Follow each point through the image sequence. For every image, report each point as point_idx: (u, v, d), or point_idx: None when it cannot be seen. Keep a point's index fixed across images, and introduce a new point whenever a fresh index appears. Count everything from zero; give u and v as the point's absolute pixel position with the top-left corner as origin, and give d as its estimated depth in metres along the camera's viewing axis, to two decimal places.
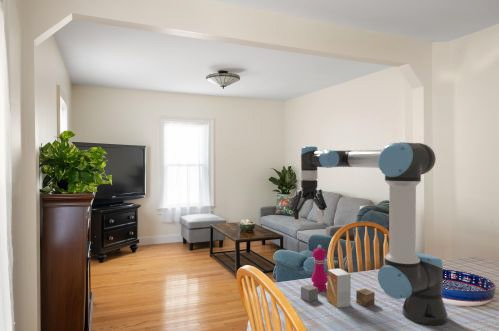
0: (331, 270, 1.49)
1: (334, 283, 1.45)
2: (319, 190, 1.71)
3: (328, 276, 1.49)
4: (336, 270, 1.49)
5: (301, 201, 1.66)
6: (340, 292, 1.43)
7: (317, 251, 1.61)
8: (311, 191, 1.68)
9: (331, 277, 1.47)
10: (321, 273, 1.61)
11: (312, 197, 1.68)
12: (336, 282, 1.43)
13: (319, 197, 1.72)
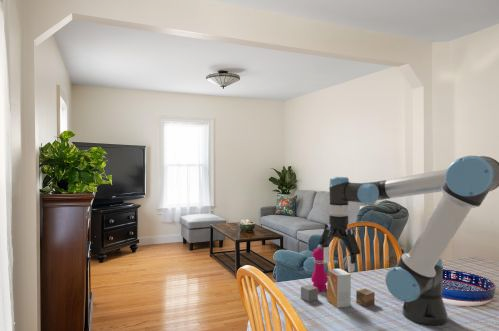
0: (331, 270, 1.49)
1: (334, 283, 1.45)
2: None
3: (328, 276, 1.49)
4: (336, 270, 1.49)
5: None
6: (340, 292, 1.43)
7: (317, 251, 1.61)
8: (337, 228, 1.46)
9: (331, 277, 1.47)
10: (321, 273, 1.61)
11: (338, 236, 1.46)
12: (336, 282, 1.43)
13: None
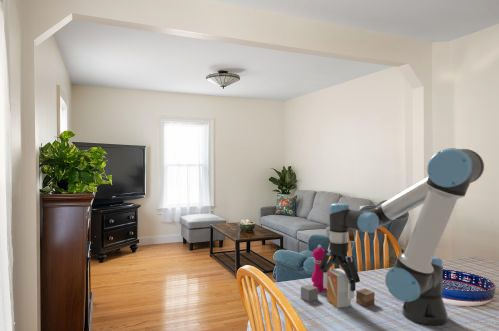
0: (331, 270, 1.49)
1: (334, 283, 1.45)
2: None
3: (328, 276, 1.49)
4: (336, 270, 1.49)
5: None
6: (340, 292, 1.43)
7: (317, 251, 1.61)
8: (337, 255, 1.46)
9: (331, 277, 1.47)
10: (321, 273, 1.61)
11: (338, 262, 1.46)
12: (336, 282, 1.43)
13: None
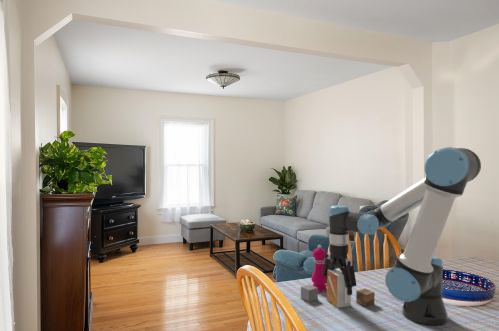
0: (331, 270, 1.49)
1: (334, 282, 1.45)
2: (347, 261, 1.42)
3: (328, 276, 1.49)
4: (336, 270, 1.49)
5: None
6: (340, 292, 1.43)
7: (317, 251, 1.61)
8: (337, 256, 1.46)
9: (331, 277, 1.47)
10: (321, 273, 1.61)
11: (338, 265, 1.46)
12: (336, 282, 1.43)
13: None
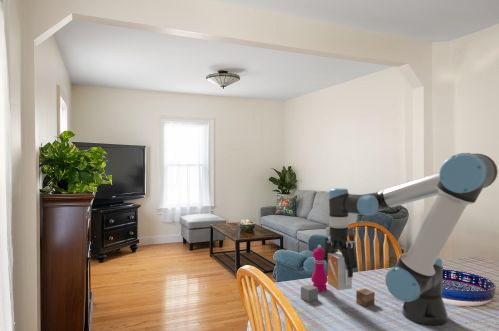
0: None
1: (335, 265, 1.44)
2: (348, 243, 1.42)
3: (329, 260, 1.49)
4: (336, 253, 1.49)
5: None
6: (340, 275, 1.43)
7: (317, 251, 1.61)
8: (337, 239, 1.46)
9: (331, 260, 1.47)
10: (321, 273, 1.61)
11: (339, 247, 1.46)
12: (336, 264, 1.43)
13: None
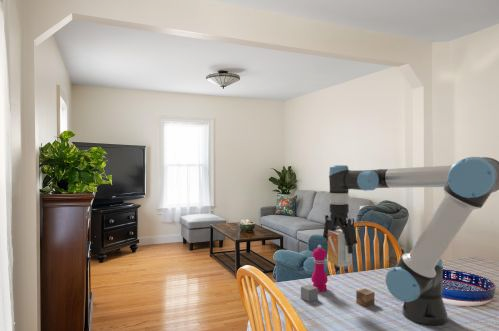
0: None
1: (335, 242, 1.44)
2: (348, 219, 1.42)
3: (329, 237, 1.49)
4: (336, 230, 1.48)
5: None
6: (340, 251, 1.43)
7: (317, 251, 1.61)
8: (338, 215, 1.46)
9: (331, 237, 1.46)
10: (321, 273, 1.61)
11: (339, 224, 1.45)
12: (336, 241, 1.43)
13: None
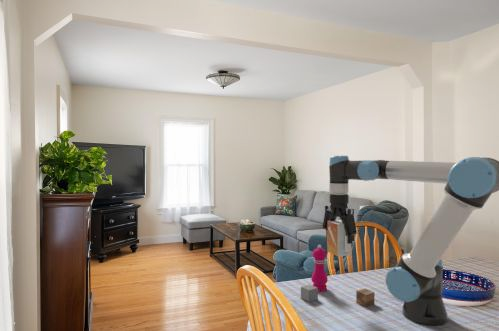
0: (331, 221, 1.49)
1: (334, 232, 1.44)
2: (348, 210, 1.42)
3: (328, 227, 1.49)
4: (336, 221, 1.48)
5: None
6: (340, 241, 1.43)
7: (317, 251, 1.61)
8: (337, 205, 1.46)
9: (331, 227, 1.46)
10: (321, 273, 1.61)
11: (338, 214, 1.45)
12: (336, 231, 1.43)
13: None
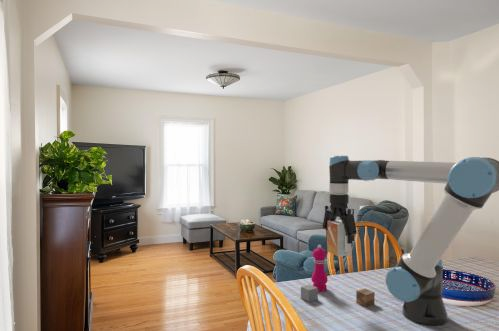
0: (331, 221, 1.49)
1: (334, 232, 1.44)
2: (348, 210, 1.42)
3: (328, 227, 1.49)
4: (336, 221, 1.48)
5: None
6: (340, 241, 1.43)
7: (317, 251, 1.61)
8: (337, 205, 1.46)
9: (331, 227, 1.46)
10: (321, 273, 1.61)
11: (338, 214, 1.45)
12: (336, 231, 1.43)
13: None
